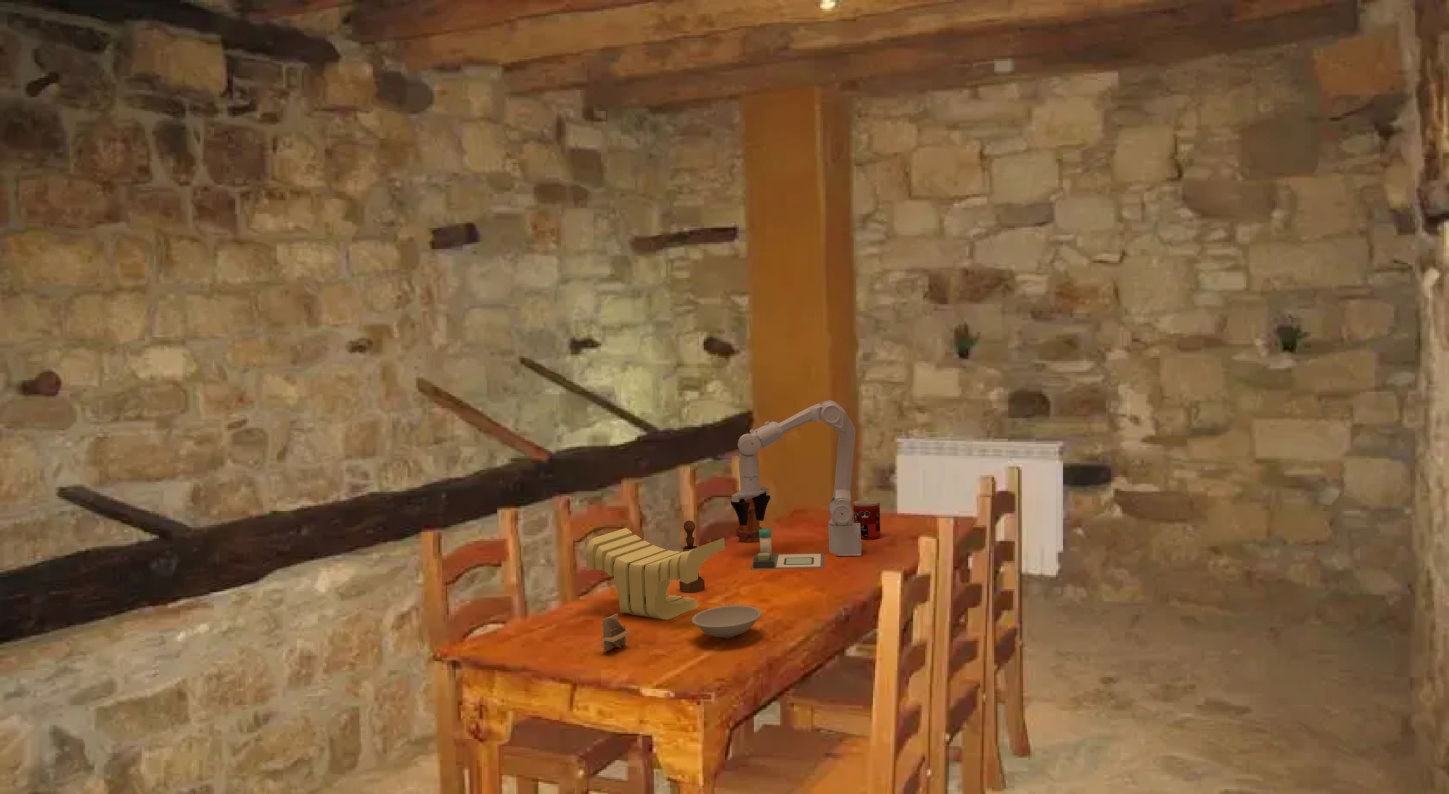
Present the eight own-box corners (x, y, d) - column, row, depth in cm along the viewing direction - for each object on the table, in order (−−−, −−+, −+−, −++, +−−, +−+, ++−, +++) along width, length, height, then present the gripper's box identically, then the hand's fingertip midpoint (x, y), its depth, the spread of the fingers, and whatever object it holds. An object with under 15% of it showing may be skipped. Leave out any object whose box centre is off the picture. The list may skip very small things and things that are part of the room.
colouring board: (824, 555, 328) (824, 546, 328) (824, 570, 311) (823, 561, 310) (754, 557, 330) (754, 548, 330) (750, 572, 313) (750, 562, 312)
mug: (763, 545, 345) (761, 496, 344) (736, 546, 345) (734, 497, 344) (762, 535, 360) (760, 487, 358) (736, 536, 360) (734, 488, 359)
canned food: (849, 536, 352) (848, 501, 351) (871, 533, 355) (870, 498, 354) (862, 541, 345) (861, 505, 344) (885, 538, 348) (884, 502, 347)
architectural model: (632, 648, 251) (630, 614, 250) (613, 657, 245) (611, 623, 244) (619, 646, 252) (617, 613, 252) (600, 655, 247) (598, 621, 246)
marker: (772, 555, 328) (771, 528, 327) (771, 558, 324) (770, 530, 323) (760, 556, 328) (759, 528, 327) (759, 558, 324) (758, 530, 324)
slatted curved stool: (589, 612, 280) (585, 540, 278) (629, 596, 293) (626, 527, 291) (688, 628, 263) (685, 551, 261) (727, 610, 276) (724, 537, 274)
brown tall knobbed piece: (701, 593, 293) (698, 523, 292) (677, 592, 294) (673, 523, 293) (707, 586, 300) (704, 518, 298) (683, 586, 301) (679, 518, 299)
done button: (769, 560, 317) (769, 552, 317) (769, 562, 314) (768, 555, 314) (758, 560, 318) (758, 553, 317) (758, 562, 315) (757, 555, 314)
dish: (724, 623, 265) (723, 602, 265) (776, 631, 257) (775, 609, 257) (677, 644, 251) (676, 621, 251) (731, 653, 243) (730, 630, 242)
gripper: (754, 471, 336) (756, 517, 337) (722, 478, 325) (724, 526, 326) (773, 472, 332) (775, 519, 333) (741, 480, 321) (744, 528, 322)
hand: (751, 522), depth 329 cm, fingers open, 7 cm apart
